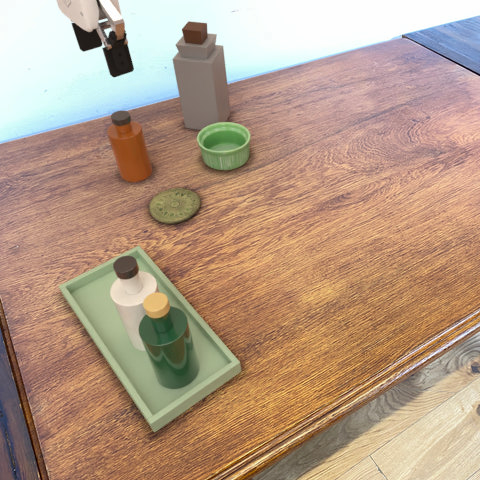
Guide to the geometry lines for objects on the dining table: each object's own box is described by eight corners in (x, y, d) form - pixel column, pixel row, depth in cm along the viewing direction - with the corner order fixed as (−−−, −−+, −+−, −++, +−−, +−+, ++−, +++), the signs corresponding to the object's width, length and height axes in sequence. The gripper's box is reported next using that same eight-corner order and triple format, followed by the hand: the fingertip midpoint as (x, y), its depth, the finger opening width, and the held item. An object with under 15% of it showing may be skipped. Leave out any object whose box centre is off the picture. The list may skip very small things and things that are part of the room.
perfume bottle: (220, 132, 95) (207, 36, 82) (185, 127, 96) (167, 32, 83) (230, 112, 100) (220, 19, 87) (197, 109, 100) (182, 16, 88)
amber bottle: (115, 171, 86) (96, 113, 78) (143, 159, 89) (128, 102, 81) (129, 186, 84) (111, 128, 76) (158, 173, 86) (144, 116, 78)
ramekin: (262, 152, 91) (261, 131, 88) (231, 179, 85) (228, 158, 82) (222, 137, 94) (219, 116, 91) (189, 162, 88) (185, 140, 85)
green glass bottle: (147, 367, 60) (120, 299, 51) (185, 343, 62) (165, 274, 53) (169, 397, 57) (144, 331, 48) (207, 372, 60) (190, 303, 50)
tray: (63, 295, 68) (57, 285, 66) (142, 255, 73) (139, 245, 72) (154, 432, 55) (150, 424, 54) (241, 371, 61) (240, 362, 59)
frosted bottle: (122, 332, 63) (91, 261, 54) (158, 310, 66) (135, 239, 56) (141, 359, 61) (113, 289, 51) (178, 336, 63) (158, 265, 54)
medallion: (186, 228, 77) (185, 225, 76) (139, 217, 78) (138, 213, 78) (209, 195, 82) (208, 192, 82) (165, 185, 84) (164, 182, 83)
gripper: (6, -90, 62) (56, 46, 75) (63, -55, 53) (108, 93, 66) (67, -99, 66) (105, 32, 78) (129, -68, 57) (161, 75, 69)
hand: (106, 60), depth 72 cm, fingers open, 9 cm apart
